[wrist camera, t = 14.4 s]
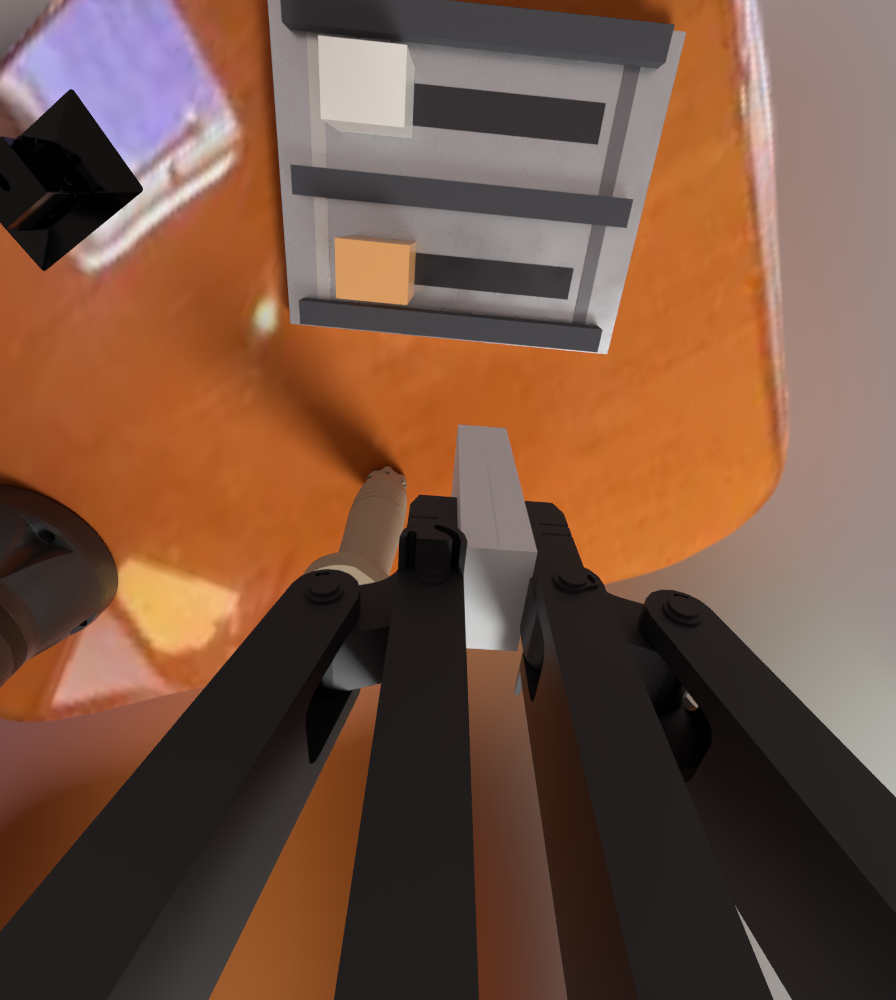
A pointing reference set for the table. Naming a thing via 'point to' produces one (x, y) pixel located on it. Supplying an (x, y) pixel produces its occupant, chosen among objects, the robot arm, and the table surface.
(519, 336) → the slotted rail tray
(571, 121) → the panel
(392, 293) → the toggle
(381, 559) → the handle
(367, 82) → the toggle
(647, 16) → the table surface
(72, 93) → the black notched stand
